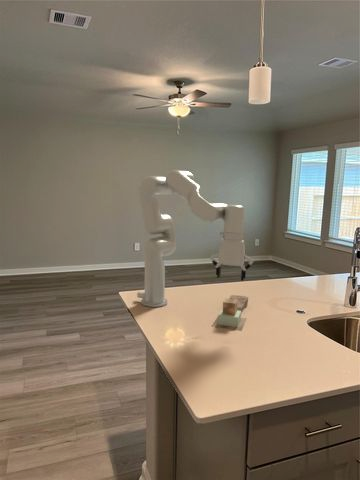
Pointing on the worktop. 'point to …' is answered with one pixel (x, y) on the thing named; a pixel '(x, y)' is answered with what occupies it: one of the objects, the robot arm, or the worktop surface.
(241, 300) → the brick
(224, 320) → the base block
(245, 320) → the baseplate
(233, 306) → the cherry block
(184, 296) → the worktop surface
